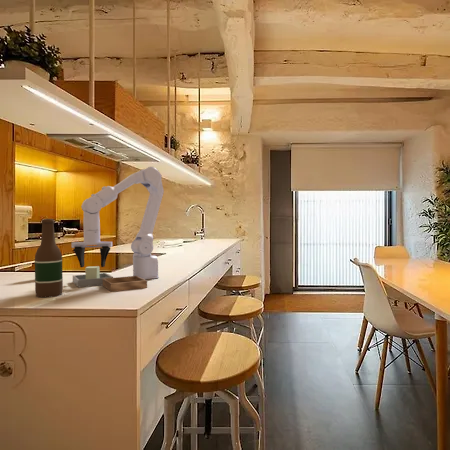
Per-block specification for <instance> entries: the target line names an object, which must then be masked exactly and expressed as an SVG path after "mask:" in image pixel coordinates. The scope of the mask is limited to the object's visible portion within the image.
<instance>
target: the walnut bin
mask: <svg viewBox="0 0 450 450" xmlns="http://www.w3.org/2000/svg"><path fill="white" fill-rule="evenodd" d="M102 286H103V288H105V289H107V290H109V291H110V292H119V291H121V292H122V291H127V290H138V289H147V288H148V279H143V278H140V277H138V276H133V275H132V276H131V275H130V276H119V277H113V278H106V279H103V285H102Z"/></svg>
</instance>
